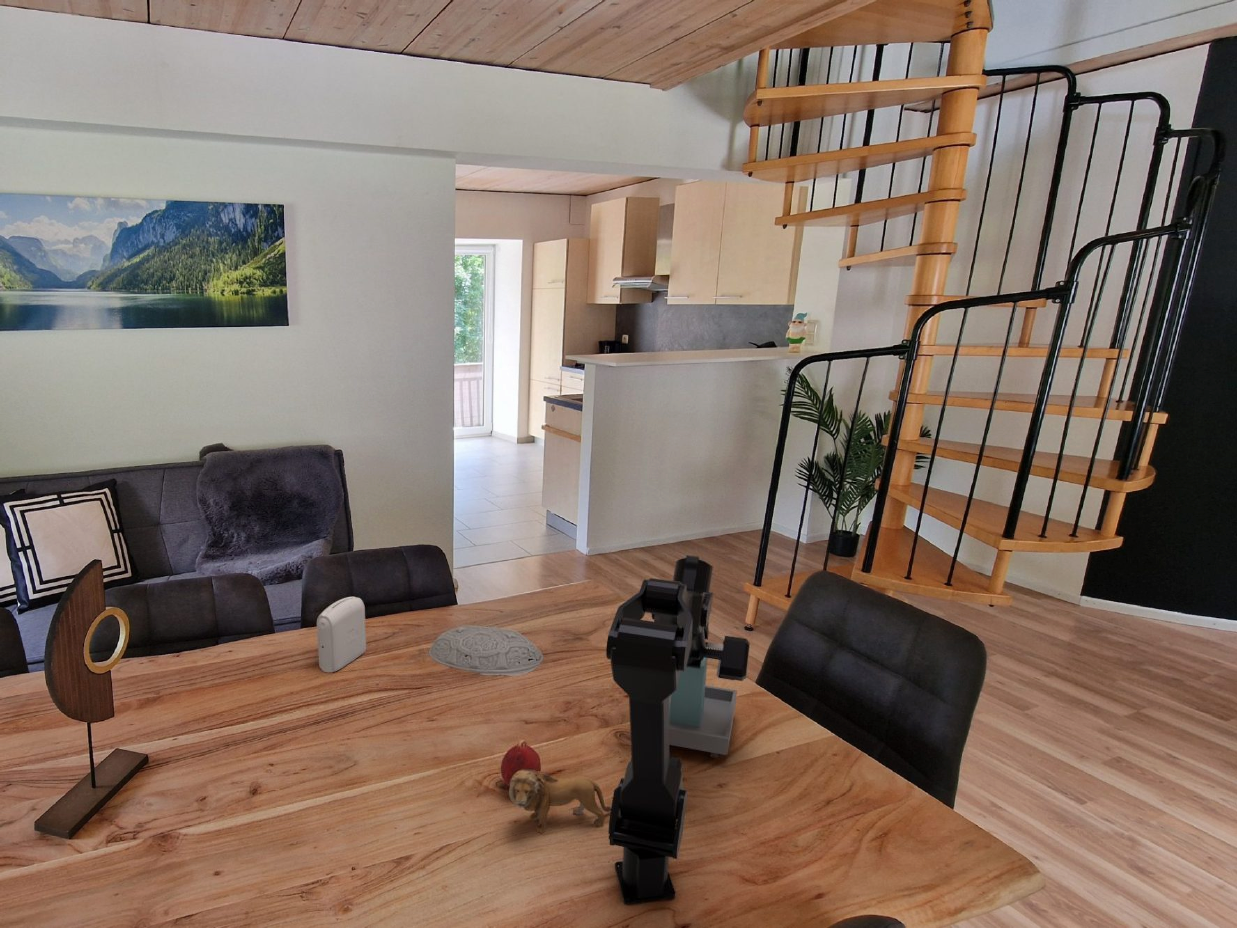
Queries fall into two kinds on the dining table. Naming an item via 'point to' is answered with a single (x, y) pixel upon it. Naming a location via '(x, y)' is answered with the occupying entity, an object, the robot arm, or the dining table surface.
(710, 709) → the grey footed tray
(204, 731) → the dining table surface
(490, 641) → the grey carved oval dome
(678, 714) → the light blue block
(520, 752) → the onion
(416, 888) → the dining table surface
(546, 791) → the lion figurine
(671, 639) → the robot arm
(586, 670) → the dining table surface
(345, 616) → the photo printer
